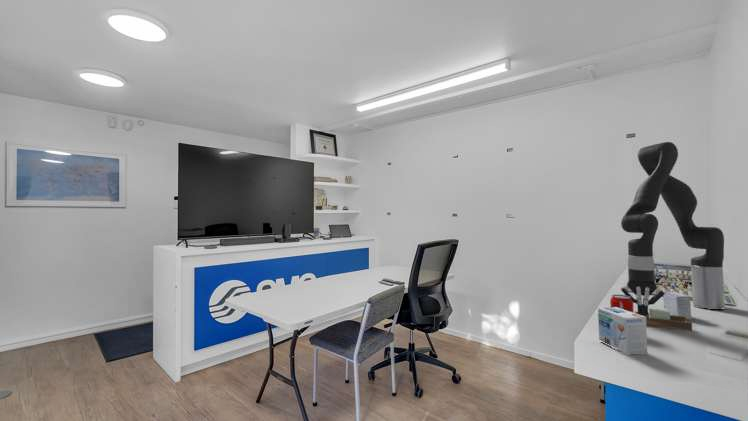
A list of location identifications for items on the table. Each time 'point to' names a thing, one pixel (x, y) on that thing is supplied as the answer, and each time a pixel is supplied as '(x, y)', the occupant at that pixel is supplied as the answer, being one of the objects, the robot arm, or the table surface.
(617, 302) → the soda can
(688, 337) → the table surface
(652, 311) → the sage block
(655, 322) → the walnut chute
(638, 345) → the light bulb box
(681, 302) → the medicine box
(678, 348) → the table surface
